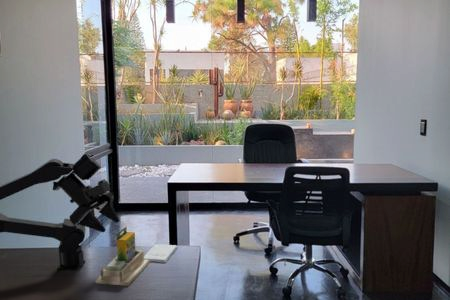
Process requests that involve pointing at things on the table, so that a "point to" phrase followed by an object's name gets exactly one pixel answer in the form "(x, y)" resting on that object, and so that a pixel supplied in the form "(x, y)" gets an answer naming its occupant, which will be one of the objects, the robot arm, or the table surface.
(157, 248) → the external hard drive
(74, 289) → the table surface
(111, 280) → the organizer
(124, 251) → the crayon box
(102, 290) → the table surface
